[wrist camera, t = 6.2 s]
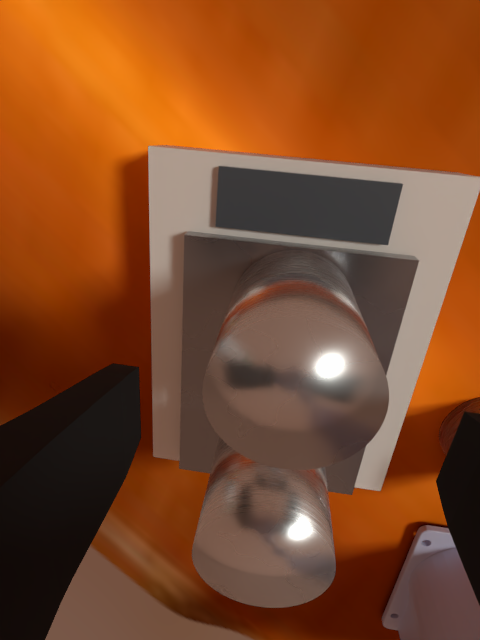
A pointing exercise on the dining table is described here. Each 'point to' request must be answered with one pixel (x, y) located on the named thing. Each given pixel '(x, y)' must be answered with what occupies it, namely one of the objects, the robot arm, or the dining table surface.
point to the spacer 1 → (295, 367)
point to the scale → (306, 228)
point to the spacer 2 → (264, 532)
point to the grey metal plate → (213, 301)
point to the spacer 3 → (455, 422)
